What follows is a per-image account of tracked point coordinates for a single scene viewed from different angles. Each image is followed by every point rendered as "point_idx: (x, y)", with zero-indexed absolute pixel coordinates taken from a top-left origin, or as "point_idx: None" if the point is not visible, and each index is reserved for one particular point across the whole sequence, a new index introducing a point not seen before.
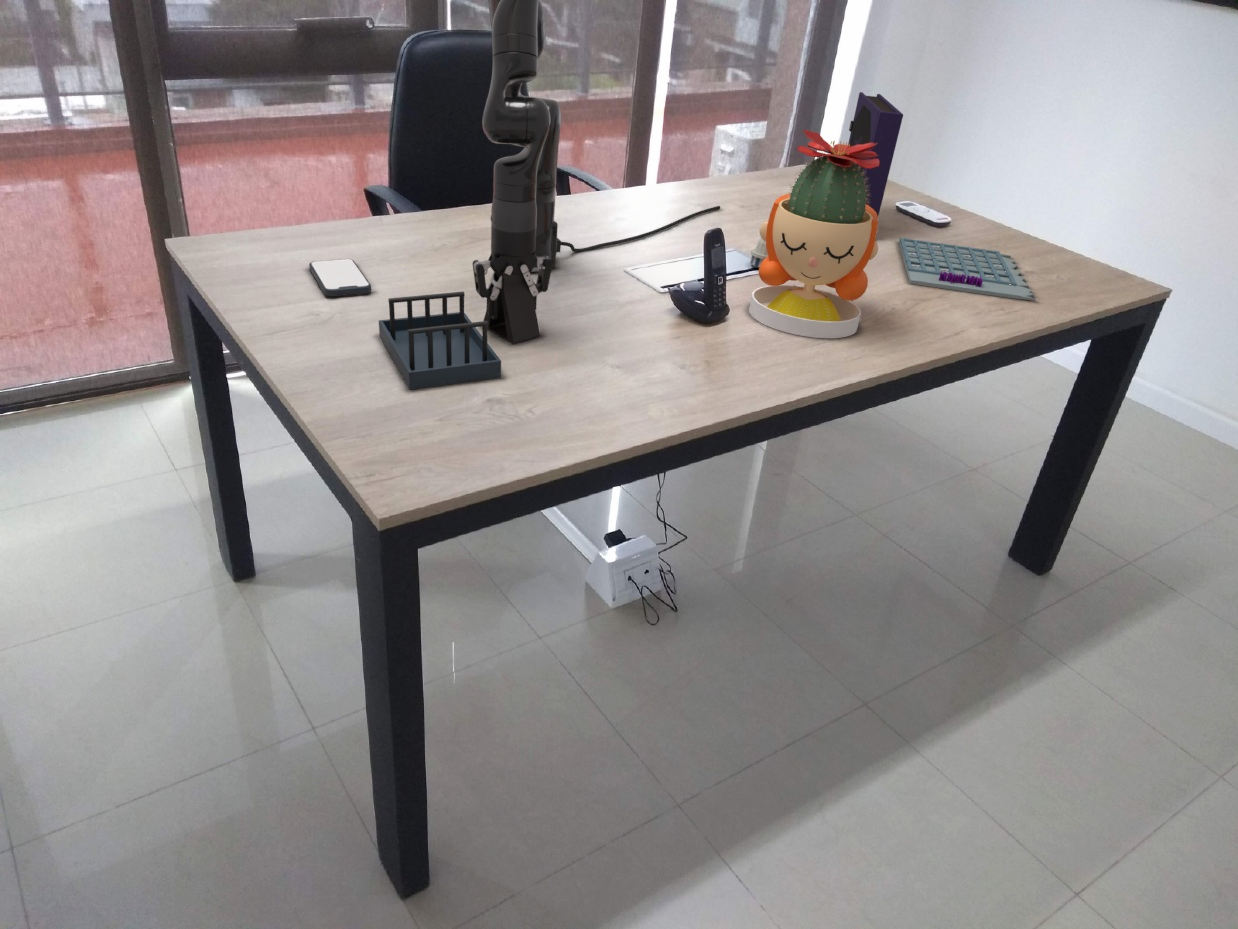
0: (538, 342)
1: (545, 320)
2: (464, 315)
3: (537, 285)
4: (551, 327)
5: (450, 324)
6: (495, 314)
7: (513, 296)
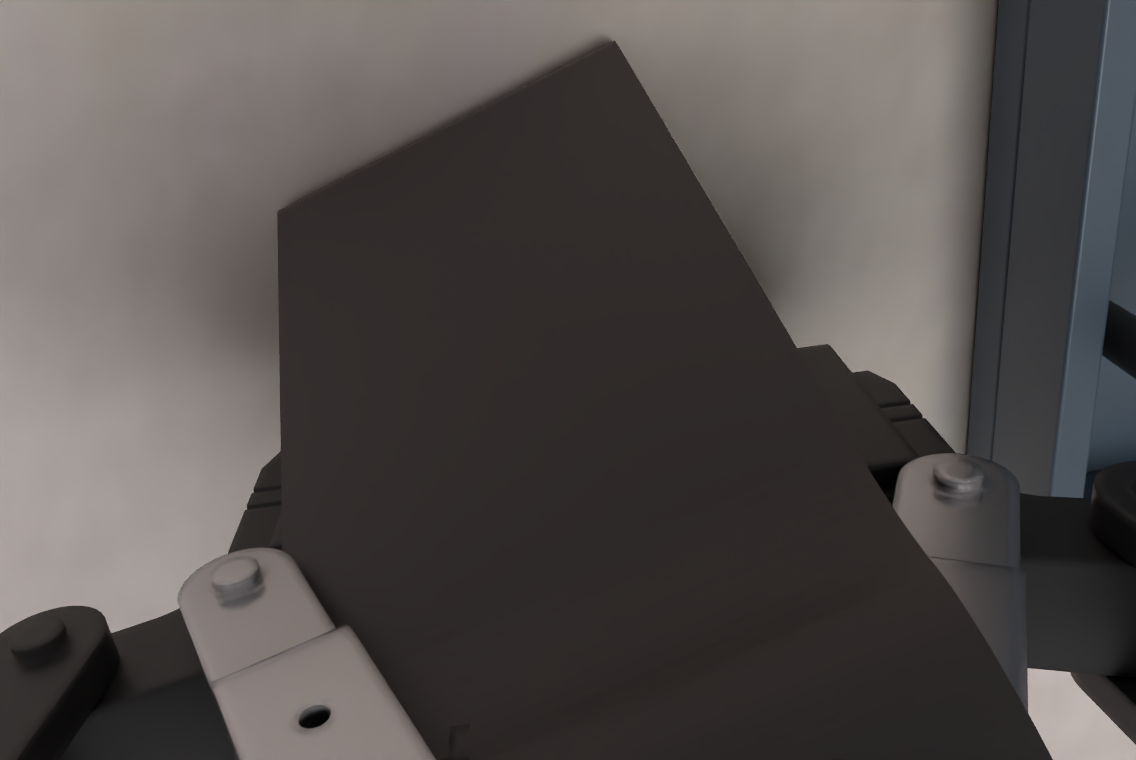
0: (320, 66)
1: (174, 552)
2: (1072, 489)
3: (161, 731)
4: (127, 406)
5: None
6: (820, 367)
7: (648, 450)
